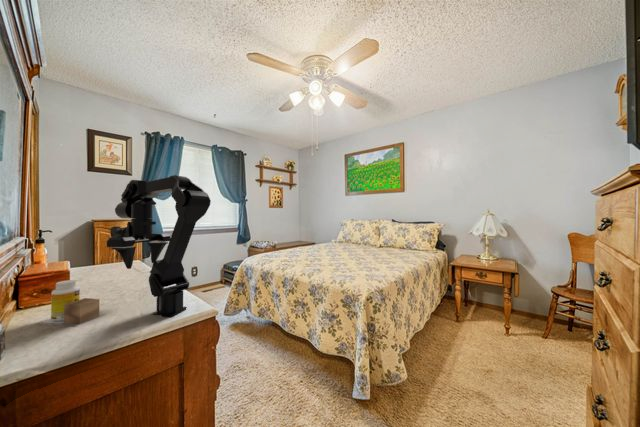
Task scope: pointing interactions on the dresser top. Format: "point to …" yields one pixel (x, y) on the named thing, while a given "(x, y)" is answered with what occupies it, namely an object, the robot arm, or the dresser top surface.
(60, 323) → the grey flat slab
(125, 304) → the dresser top surface
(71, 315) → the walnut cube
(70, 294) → the supplement bottle
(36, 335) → the dresser top surface
